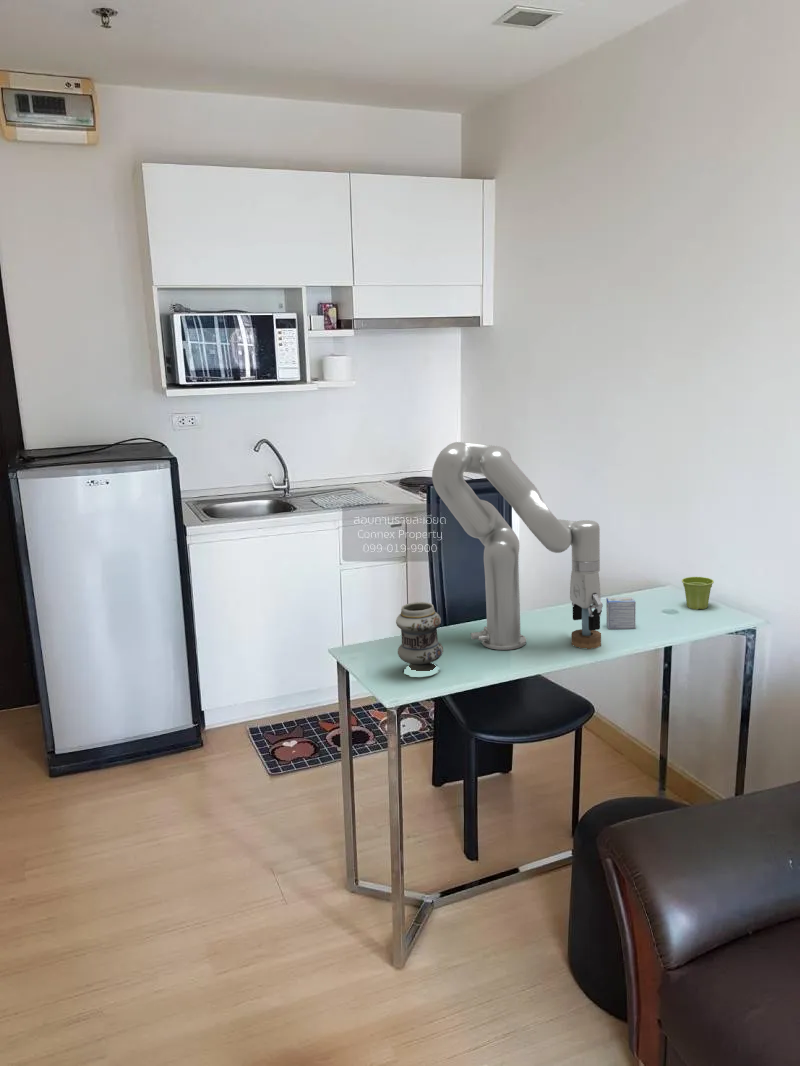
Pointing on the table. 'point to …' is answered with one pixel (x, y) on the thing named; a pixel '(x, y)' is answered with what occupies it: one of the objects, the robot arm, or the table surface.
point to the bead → (586, 639)
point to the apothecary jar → (419, 635)
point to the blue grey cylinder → (585, 622)
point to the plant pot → (697, 591)
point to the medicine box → (621, 612)
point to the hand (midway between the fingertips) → (586, 624)
